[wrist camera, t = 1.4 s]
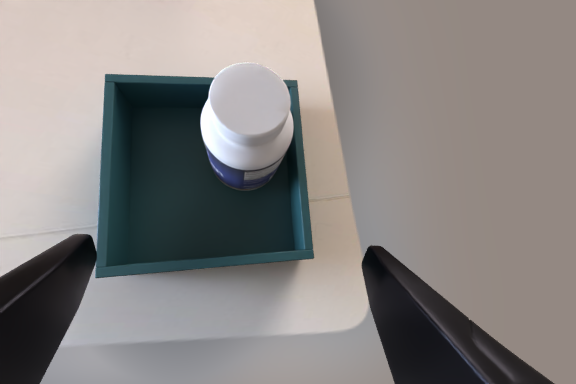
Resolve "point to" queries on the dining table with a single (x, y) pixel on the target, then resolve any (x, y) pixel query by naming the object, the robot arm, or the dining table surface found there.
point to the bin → (187, 187)
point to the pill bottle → (247, 125)
